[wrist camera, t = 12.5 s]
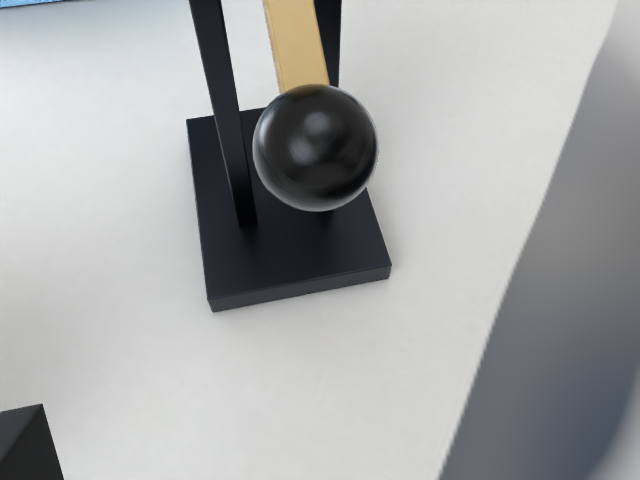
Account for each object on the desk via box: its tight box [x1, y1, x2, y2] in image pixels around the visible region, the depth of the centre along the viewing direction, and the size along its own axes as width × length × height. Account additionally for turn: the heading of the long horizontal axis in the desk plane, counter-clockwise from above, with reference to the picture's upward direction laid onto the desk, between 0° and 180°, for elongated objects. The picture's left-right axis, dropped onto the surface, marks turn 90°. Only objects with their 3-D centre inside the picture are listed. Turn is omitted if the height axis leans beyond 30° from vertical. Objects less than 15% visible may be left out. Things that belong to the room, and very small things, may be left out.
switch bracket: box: [186, 0, 392, 312], centre depth 22 cm, size 12×9×22 cm
